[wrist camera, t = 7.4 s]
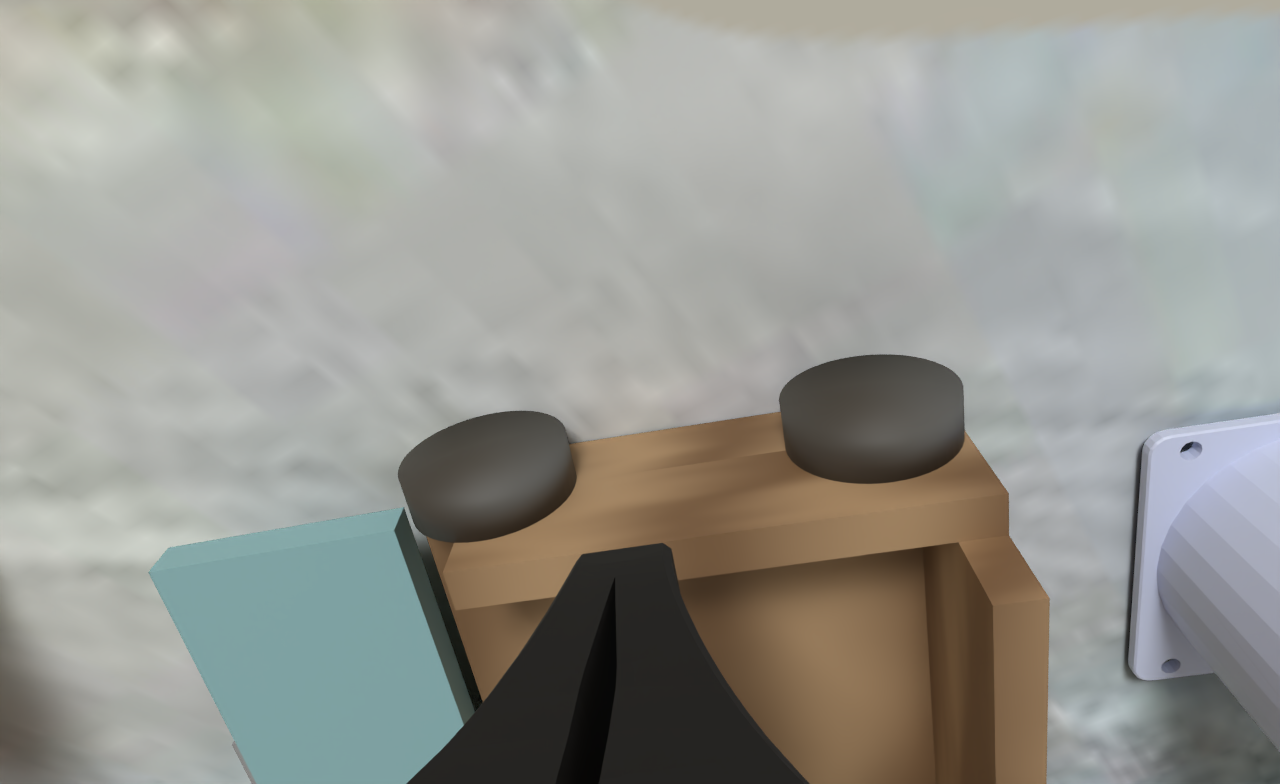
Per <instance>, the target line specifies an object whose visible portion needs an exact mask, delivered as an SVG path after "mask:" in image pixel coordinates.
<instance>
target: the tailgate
mask: <svg viewBox="0 0 1280 784" xmlns="http://www.w3.org/2000/svg"><path fill="white" fill-rule="evenodd" d="M149 574H150V576H151V578H152V580H153V582H154V584H155V586H156V588H157V590H158V592H159V594H160V596H161V598H162V600H163V602H164V604H165V606H166V608H167V610H168V612H169V614H170V615H171V617H172V619H173V621H174V623H175V625H176V627H177V629H178V631H179V633H180V635H181V637H182V639H183V641H184V643H185V645H186V647H187V649H188V651H189V653H190V655H191V657H192V659H193V660H194V662H195V664H196V666H197V668H198V670H199V672H200V674H201V676H202V678H203V680H204V682H205V684H206V686H207V688H208V690H209V692H210V694H211V696H212V698H213V700H214V702H215V704H216V705H217V707H218V709H219V711H220V713H221V715H222V717H223V719H224V721H225V723H226V725H227V727H228V729H229V731H230V733H231V735H232V737H233V739H234V742H233V744H232V746H233V748H234V750H235V752H236V754H237V755H238V757H239V759H240V761H241V763H242V765H243V767H244V769H245V771H246V773H247V775H248V777H249V779H250V781H251V783H252V784H406V783H407V782H408V781H409V780H411V779H412V778H413V777H414V776H415V775H416V774H417V773H418V772H419V771H420V770H421V769H422V768H423V767H424V766H425V765H426V764H427V763H428V762H429V761H430V760H431V759H432V758H433V757H434V756H435V755H436V754H438V753H439V752H440V751H441V750H442V749H443V747H444V746H445V745H446V744H447V743H448V742H449V741H450V740H451V739H452V738H453V737H454V736H455V735H456V733H457V732H458V731H459V730H460V729H461V728H462V727H463V726H464V724H465V723H466V722H467V721H468V720H469V719H470V717H471V716H472V715H473V714H474V713H475V711H474V708H473V705H472V702H471V699H470V696H469V693H468V690H467V688H466V685H465V682H464V679H463V676H462V673H461V670H460V667H459V665H458V662H457V659H456V656H455V653H454V650H453V647H452V644H451V642H450V639H449V636H448V633H447V630H446V627H445V624H444V621H443V619H442V616H441V613H440V610H439V607H438V604H437V601H436V599H435V596H434V593H433V590H432V587H431V584H430V581H429V578H428V576H427V573H426V570H425V567H424V564H423V561H422V558H421V555H420V553H419V550H418V547H417V544H416V541H415V538H414V535H413V532H412V530H411V527H410V524H409V521H408V518H407V515H406V512H405V509H404V507H403V508H397V509H391V510H386V511H380V512H374V513H368V514H362V515H356V516H351V517H345V518H339V519H333V520H327V521H322V522H316V523H310V524H304V525H298V526H293V527H287V528H281V529H275V530H269V531H263V532H258V533H252V534H246V535H240V536H234V537H229V538H223V539H217V540H211V541H205V542H199V543H194V544H188V545H182V546H176V547H170V548H168V549H167V550H166V551H165V553H164V554H163V555H162V556H161V558H160V559H159V560H158V561H157V562H156V564H155V565H154V566H153V567H152V568H151V570H150V571H149Z"/></svg>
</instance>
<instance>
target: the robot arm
mask: <svg viewBox="0 0 1280 784" xmlns="http://www.w3.org/2000/svg"><path fill="white" fill-rule="evenodd" d="M1189 442H1193V444H1192V447H1191V448H1190V449H1188V450H1187V451H1185V452H1182V453H1181V452H1180V451H1181V449H1182V447H1183V446H1184V445H1185V444H1187V443H1189ZM1169 659H1171V660H1170V661H1168V662H1166V663H1164V662H1165V661H1166V660H1169ZM1128 664H1129V667H1130V669H1131V670H1132V672H1133V673H1134V674H1135V675H1136V676H1137V678H1139V679H1142V680H1159V679H1168V678H1176V677H1185V676H1193V675H1202V674H1210V673H1215V674H1216V675H1217V676H1218V677H1219V679H1220V680H1221V681H1222V682H1223V683H1224V685H1225V686H1226V687H1227V688H1228V690H1229V691H1230V692H1231V693H1232V694H1233V696H1234V697H1235V698H1236V699H1237V701H1238V702H1239V703H1240V704H1241V705H1242V707H1243V708H1244V709H1245V710H1246V712H1247V713H1248V714H1249V715H1250V717H1251V718H1252V719H1253V720H1254V721H1255V723H1256V724H1257V725H1258V726H1259V728H1260V729H1261V730H1262V731H1263V732H1264V734H1265V735H1266V736H1267V737H1268V739H1269V740H1270V741H1271V742H1272V743H1273V745H1274V746H1275V747H1276V748H1277V750H1278V751H1279V752H1280V413H1278V414H1271V415H1264V416H1257V417H1250V418H1243V419H1236V420H1229V421H1222V422H1215V423H1208V424H1201V425H1195V426H1188V427H1181V428H1174V429H1167V430H1162V431H1159V432H1156V433H1154V434H1153V435H1152V436H1150V437H1149V438H1148V439H1147V441H1146V442H1145V443H1144V446H1143V450H1142V463H1141V477H1140V492H1139V507H1138V522H1137V537H1136V552H1135V567H1134V582H1133V597H1132V612H1131V627H1130V642H1129V656H1128ZM406 784H810V783H809V782H808V781H807V780H806V779H805V778H804V777H803V776H802V775H801V774H800V773H799V772H798V770H797V769H796V768H795V767H794V766H793V765H792V764H791V763H790V762H789V760H788V759H787V758H786V757H785V756H784V755H783V754H782V753H781V752H780V750H779V749H778V748H777V747H776V746H775V745H774V744H773V743H772V742H771V740H770V739H769V738H768V737H767V736H766V735H765V733H764V732H763V731H762V729H761V728H760V727H759V726H758V724H757V723H756V722H755V720H754V719H753V718H752V717H751V715H750V714H749V713H748V711H747V710H746V709H745V707H744V706H743V704H742V703H741V702H740V700H739V699H738V698H737V696H736V695H735V693H734V692H733V690H732V689H731V687H730V686H729V684H728V683H727V681H726V680H725V678H724V677H723V675H722V674H721V672H720V670H719V669H718V667H717V665H716V664H715V662H714V660H713V659H712V657H711V655H710V654H709V652H708V650H707V648H706V647H705V645H704V643H703V641H702V639H701V637H700V635H699V633H698V631H697V629H696V627H695V625H694V623H693V621H692V619H691V617H690V615H689V613H688V610H687V608H686V606H685V604H684V601H683V599H682V596H681V593H680V588H679V583H678V578H677V574H676V569H675V564H674V559H673V554H672V549H671V548H670V547H668V546H667V545H665V544H664V543H657V544H650V545H643V546H636V547H629V548H622V549H615V550H607V551H600V552H593V553H586V554H582V555H581V556H580V557H579V559H578V560H577V561H576V563H575V565H574V566H573V568H572V570H571V572H570V573H569V575H568V577H567V579H566V580H565V582H564V584H563V585H562V587H561V589H560V591H559V592H558V594H557V596H556V597H555V599H554V601H553V602H552V604H551V606H550V607H549V609H548V610H547V612H546V614H545V615H544V617H543V618H542V620H541V621H540V623H539V625H538V626H537V628H536V629H535V631H534V632H533V634H532V635H531V637H530V638H529V640H528V641H527V643H526V644H525V646H524V648H523V649H522V650H521V652H520V653H519V655H518V656H517V658H516V659H515V660H514V662H513V663H512V664H511V666H510V667H509V668H508V670H507V671H506V673H505V674H504V675H503V677H502V678H501V679H500V681H499V682H498V683H497V685H496V686H495V687H494V689H493V690H492V691H491V693H490V694H489V695H488V697H487V698H486V699H485V700H484V702H483V703H482V704H481V705H480V707H479V708H478V709H477V710H476V711H475V713H474V714H473V715H472V716H471V717H470V719H469V720H468V721H467V722H466V723H465V724H464V726H463V727H462V728H461V729H460V730H459V731H458V732H457V733H456V735H455V736H454V737H453V738H452V739H451V740H450V741H449V742H448V743H447V744H446V745H445V746H444V747H443V749H442V750H441V751H440V752H439V753H438V754H436V755H435V756H434V757H433V758H432V759H431V760H430V761H429V762H428V763H427V764H426V765H425V766H424V767H423V768H422V769H421V770H420V771H419V772H418V773H417V774H416V775H415V776H414V777H413V778H412V779H411V780H409V781H408V782H407V783H406Z"/></svg>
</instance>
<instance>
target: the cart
mask: <svg viewBox="0 0 1280 784" xmlns="http://www.w3.org/2000/svg"><path fill="white" fill-rule="evenodd" d="M779 402H780V410H781V412H776V413H770V414H763V415H757V416H750V417H744V418H737V419H730V420H724V421H717V422H711V423H704V424H698V425H691V426H685V427H678V428H672V429H665V430H658V431H652V432H645V433H639V434H632V435H626V436H619V437H613V438H606V439H600V440H593V441H586V442H580V443H573V444H569V442H568V438H567V434H566V430H565V427H564V425H563V424H562V423H561V422H560V421H559V420H558V419H556V418H555V417H553V416H550V415H548V414H544V413H540V412H534V411H508V412H500V413H494V414H488V415H484V416H480V417H476V418H472V419H469V420H466V421H463V422H460V423H457V424H455V425H453V426H450V427H448V428H446V429H443V430H441V431H439V432H437V433H436V434H434V435H432V436H430V437H429V438H427V439H425V440H424V441H422V442H421V443H420V444H418V445H417V446H416V447H415V448H414V449H412V450H411V451H410V452H409V453H408V454H407V456H406V457H405V458H404V459H403V461H402V462H401V465H400V467H399V470H398V478H399V481H400V484H401V487H402V490H403V493H404V496H405V499H406V502H407V504H408V507H409V510H410V513H411V516H412V519H413V522H414V524H415V526H416V528H417V529H418V530H419V531H420V532H421V533H422V534H424V535H425V536H426V537H427V540H428V543H429V546H430V549H431V552H432V554H433V557H434V560H435V563H436V566H437V569H438V572H439V575H440V578H441V581H442V584H443V587H444V590H445V593H446V596H447V599H448V601H449V604H450V607H451V610H452V613H453V616H454V619H455V622H456V625H457V628H458V631H459V634H460V637H461V640H462V643H463V645H464V648H465V651H466V654H467V657H468V660H469V663H470V666H471V669H472V672H473V675H474V678H475V681H476V684H477V687H478V689H479V692H480V695H481V698H482V701H483V702H484V700H485V699H486V698H487V697H488V695H489V694H490V693H491V691H492V690H493V689H494V687H495V686H496V685H497V683H498V682H499V681H500V679H501V678H502V677H503V675H504V674H505V673H506V671H507V670H508V668H509V667H510V666H511V664H512V663H513V662H514V660H515V659H516V658H517V656H518V655H519V653H520V652H521V650H522V649H523V648H524V646H525V644H526V643H527V641H528V640H529V638H530V637H531V635H532V634H533V632H534V631H535V629H536V628H537V626H538V625H539V623H540V621H541V620H542V618H543V617H544V615H545V614H546V612H547V610H548V609H549V607H550V606H551V604H552V602H553V601H554V599H555V597H556V596H557V594H558V592H559V591H560V589H561V587H562V585H563V584H564V582H565V580H566V579H567V577H568V575H569V573H570V572H571V570H572V568H573V566H574V565H575V563H576V561H577V560H578V559H579V557H580V556H581V555H582V554H586V553H593V552H600V551H607V550H615V549H622V548H629V547H636V546H643V545H650V544H657V543H664V544H665V545H667V546H668V547H670V548H671V549H672V554H673V559H674V564H675V569H676V574H677V578H678V583H679V588H680V593H681V596H682V599H683V601H684V604H685V606H686V608H687V610H688V613H689V615H690V617H691V619H692V621H693V623H694V625H695V627H696V629H697V631H698V633H699V635H700V637H701V639H702V641H703V643H704V645H705V647H706V648H707V650H708V652H709V654H710V655H711V657H712V659H713V660H714V662H715V664H716V665H717V667H718V669H719V670H720V672H721V674H722V675H723V677H724V678H725V680H726V681H727V683H728V684H729V686H730V687H731V689H732V690H733V692H734V693H735V695H736V696H737V698H738V699H739V700H740V702H741V703H742V704H743V706H744V707H745V709H746V710H747V711H748V713H749V714H750V715H751V717H752V718H753V719H754V720H755V722H756V723H757V724H758V726H759V727H760V728H761V729H762V731H763V732H764V733H765V735H766V736H767V737H768V738H769V739H770V740H771V742H772V743H773V744H774V745H775V746H776V747H777V748H778V749H779V750H780V752H781V753H782V754H783V755H784V756H785V757H786V758H787V759H788V760H789V762H790V763H791V764H792V765H793V766H794V767H795V768H796V769H797V770H798V772H799V773H800V774H801V775H802V776H803V777H804V778H805V779H806V780H807V781H808V782H809V783H810V784H1046V769H1047V712H1048V655H1049V599H1050V598H1049V597H1048V595H1047V594H1046V592H1045V591H1044V589H1043V588H1042V586H1041V584H1040V583H1039V581H1038V580H1037V578H1036V577H1035V575H1034V574H1033V572H1032V571H1031V569H1030V567H1029V566H1028V564H1027V563H1026V561H1025V560H1024V558H1023V557H1022V555H1021V553H1020V552H1019V550H1018V549H1017V547H1016V546H1015V544H1014V543H1013V541H1012V539H1011V538H1010V536H1009V493H1008V492H1007V490H1006V489H1005V488H1004V486H1003V485H1002V483H1001V482H1000V480H999V479H998V478H997V476H996V475H995V473H994V472H993V470H992V469H991V468H990V466H989V465H988V463H987V462H986V460H985V459H984V457H983V456H982V455H981V453H980V452H979V450H978V449H977V447H976V446H975V445H974V443H973V442H972V440H971V439H970V437H969V436H968V435H967V433H966V432H965V429H964V395H963V384H962V381H961V380H960V378H959V377H958V376H957V375H956V374H955V373H954V372H953V371H952V370H950V369H949V368H947V367H945V366H943V365H941V364H938V363H936V362H933V361H930V360H926V359H922V358H917V357H911V356H903V355H865V356H856V357H849V358H844V359H839V360H834V361H830V362H827V363H824V364H821V365H818V366H815V367H813V368H810V369H808V370H806V371H804V372H802V373H800V374H799V375H797V376H796V377H794V378H793V379H792V380H790V381H789V382H788V383H787V384H786V385H785V387H784V388H783V389H782V391H781V393H780V398H779Z"/></svg>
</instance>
